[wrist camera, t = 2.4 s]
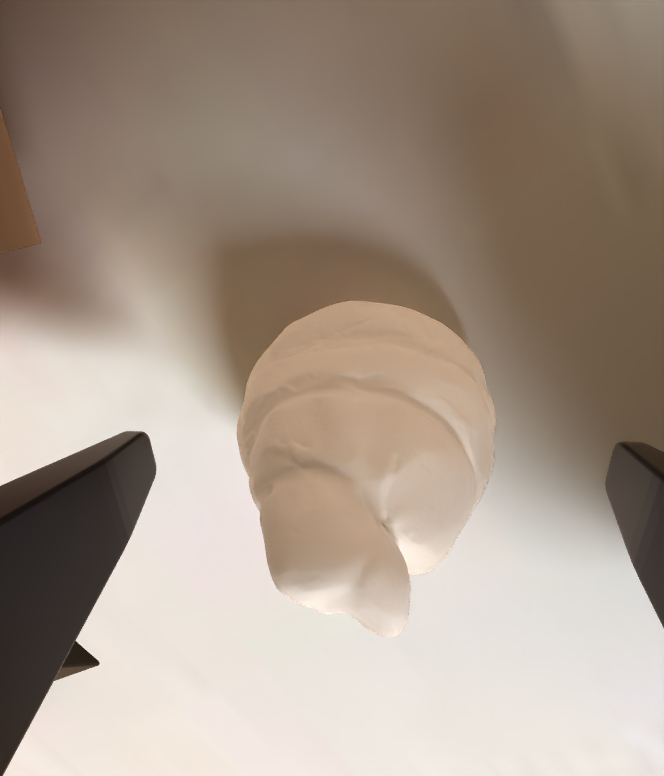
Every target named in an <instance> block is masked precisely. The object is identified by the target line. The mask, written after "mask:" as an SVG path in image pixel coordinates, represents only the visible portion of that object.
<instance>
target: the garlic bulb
mask: <svg viewBox="0 0 664 776" xmlns="http://www.w3.org/2000/svg"><path fill="white" fill-rule="evenodd" d="M495 426H496V414H495V408H494V404H493V401H492V398H491V396H490V394H489V392H488V390H487V387H486V383H485V376H484V372H483V369H482V367H481V365H480V362H479V361H478V359H477V357H476V356H475V354H474V353H473V352H472V351H471V350H470V348H469V347H468V346H467V345H466V344H465V343H464V342H463V340H462V339H461V338H460V337H459V336H458V335H457V334H456V333H454V332H453V331H452V330H451V329H449V328H448V327H447V326H445V325H444V324H442V323H441V322H439V321H437V320H435V319H433V318H430V317H428V316H426V315H424V314H422V313H420V312H418V311H415V310H413V309H410V308H407V307H402V306H397V305H393V304H385V303H376V302H369V301H345V302H340V303H337V304H333V305H330V306H327V307H324V308H322V309H319V310H317V311H315V312H313V313H311V314H309V315H307V316H305V317H303V318H301V319H298V320H296V321H294V322H293V323H291V324H289V325H288V326H287V327H286V328H285V329H284V330H283V331H282V332H281V333H280V335H279V336H278V337H277V338H276V339H275V341H274V342H273V343H272V344H271V345H270V346H269V347H268V348H267V349H266V351H265V352H264V353H263V354H262V356H261V357H260V358H259V360H258V361H257V363H256V364H255V366H254V368H253V370H252V372H251V374H250V376H249V379H248V382H247V386H246V391H245V398H244V401H243V405H242V409H241V412H240V415H239V419H238V424H237V440H238V445H239V450H240V455H241V459H242V462H243V465H244V467H245V470H246V472H247V474H248V476H249V486H250V492H251V495H252V497H253V500H254V502H255V504H256V506H257V508H258V509H259V511H260V522H261V527H262V532H263V537H264V543H265V549H266V557H267V562H268V566H269V570H270V574H271V576H272V579H273V581H274V584H275V585H276V587H277V589H278V590H279V591H280V592H281V593H283V594H284V595H286V596H287V597H289V598H290V599H292V600H293V601H295V602H296V603H298V604H300V605H303V606H306V607H310V608H312V609H314V610H316V611H318V612H320V613H323V614H333V613H338V612H345V613H347V614H349V615H351V616H352V617H354V618H355V619H357V620H358V621H359V622H360V623H361V624H362V625H364V626H365V627H366V628H367V629H369V630H370V631H372V632H374V633H376V634H378V635H381V636H385V637H394V636H396V635H398V634H399V633H400V631H401V630H402V629H403V628H404V627H405V625H406V623H407V620H408V615H409V604H410V590H411V586H410V577H409V575H417V574H424V573H427V572H429V571H430V570H432V569H434V568H435V567H436V566H437V565H438V564H440V563H441V562H442V561H443V559H444V558H445V557H446V556H447V554H448V553H449V551H450V549H451V548H452V546H453V544H454V542H455V540H456V538H457V537H458V535H459V533H460V532H461V530H462V528H463V527H464V526H465V524H466V522H467V520H468V518H469V516H470V515H471V513H472V511H473V510H474V508H475V507H476V505H477V504H478V502H479V501H480V499H481V498H482V495H483V493H484V490H485V488H486V485H487V483H488V480H489V477H490V475H491V473H492V468H493V464H494V433H493V431H494V429H495Z"/></svg>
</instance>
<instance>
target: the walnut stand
mask: <svg viewBox="0 0 664 776" xmlns="http://www.w3.org/2000/svg"><path fill="white" fill-rule="evenodd" d="M39 243H41V240H40V236H39V233H38V230H37V226H36V223H35V220H34V217H33V213H32V210H31V207H30V203H29V200H28V197H27V194H26V190H25V187H24V184H23V180H22V177H21V174H20V170H19V167H18V164H17V161H16V157H15V154H14V151H13V147H12V144H11V141H10V138H9V134H8V131H7V128H6V124H5V121H4V118H3V114H2V111H1V108H0V253H4V252H8V251H12V250H16V249H20V248H23V247H27V246H31V245H35V244H39Z"/></svg>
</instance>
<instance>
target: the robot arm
mask: <svg viewBox="0 0 664 776" xmlns="http://www.w3.org/2000/svg"><path fill="white" fill-rule="evenodd" d="M155 475H156V463H155V459H154V455H153V451H152V447H151V443H150V439H149V436H148V435H147V434H146V433H145V432H141V431H126V432H123V433H120V434H118V435H116V436H113V437H111V438H109V439H107V440H104V441H102V442H100V443H97V444H95V445H93V446H91V447H88V448H86V449H84V450H81V451H79V452H77V453H75V454H72V455H70V456H68V457H65V458H63V459H61V460H58V461H56V462H54V463H52V464H49V465H47V466H45V467H42V468H40V469H38V470H36V471H33V472H31V473H29V474H26V475H24V476H22V477H20V478H17V479H15V480H13V481H10V482H8V483H6V484H4V485H1V486H0V776H3V774H4V773H5V771H6V769H7V767H8V765H9V763H10V761H11V760H12V758H13V756H14V754H15V752H16V750H17V748H18V747H19V745H20V743H21V741H22V739H23V737H24V735H25V734H26V732H27V730H28V728H29V726H30V724H31V722H32V720H33V719H34V717H35V715H36V713H37V711H38V709H39V707H40V706H41V704H42V702H43V700H44V698H45V696H46V694H47V693H48V691H49V689H50V687H51V685H52V683H53V681H54V680H55V678H56V676H57V674H58V672H59V670H60V668H61V667H62V665H63V663H64V661H65V659H66V657H67V655H68V654H69V652H70V650H71V648H72V646H73V644H74V642H75V640H76V639H77V637H78V635H79V633H80V631H81V629H82V627H83V626H84V624H85V622H86V620H87V618H88V616H89V614H90V613H91V611H92V609H93V607H94V605H95V603H96V601H97V600H98V598H99V596H100V594H101V592H102V590H103V588H104V587H105V585H106V583H107V581H108V579H109V577H110V575H111V574H112V572H113V570H114V568H115V566H116V564H117V562H118V560H119V559H120V557H121V555H122V553H123V551H124V549H125V547H126V545H127V543H128V541H129V539H130V537H131V535H132V532H133V530H134V528H135V525H136V523H137V520H138V518H139V516H140V513H141V511H142V508H143V506H144V503H145V501H146V498H147V496H148V493H149V491H150V488H151V486H152V483H153V481H154V479H155ZM605 485H606V491H607V495H608V497H609V500H610V503H611V506H612V509H613V511H614V514H615V517H616V520H617V523H618V525H619V528H620V531H621V534H622V537H623V540H624V542H625V545H626V548H627V551H628V554H629V556H630V559H631V561H632V564H633V566H634V568H635V570H636V573H637V575H638V577H639V579H640V581H641V583H642V585H643V587H644V589H645V591H646V593H647V595H648V597H649V599H650V601H651V603H652V605H653V607H654V609H655V611H656V613H657V616H658V618H659V620H660V622H661V624H662V626H663V628H664V452H663V451H660V450H658V449H656V448H654V447H652V446H650V445H648V444H645V443H642V442H619V443H617V444H616V445H615V447H614V449H613V453H612V456H611V460H610V464H609V468H608V472H607V476H606V482H605Z"/></svg>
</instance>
